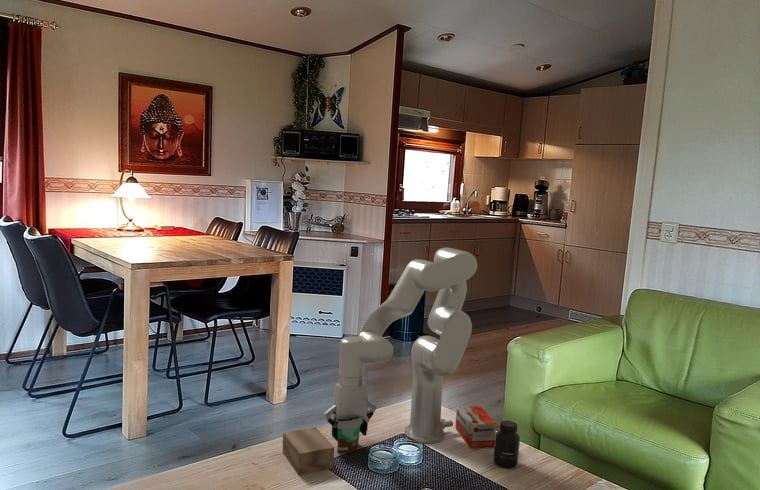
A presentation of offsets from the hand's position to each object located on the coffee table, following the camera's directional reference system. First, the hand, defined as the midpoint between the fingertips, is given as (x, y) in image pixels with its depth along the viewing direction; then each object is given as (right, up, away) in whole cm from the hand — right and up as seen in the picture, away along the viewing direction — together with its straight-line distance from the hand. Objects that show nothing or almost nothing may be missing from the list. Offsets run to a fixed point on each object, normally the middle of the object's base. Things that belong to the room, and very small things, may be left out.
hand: (349, 436), depth 169 cm
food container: (0, -4, +1) cm, 4 cm away
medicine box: (+39, -5, +11) cm, 41 cm away
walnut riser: (-11, -4, -9) cm, 15 cm away
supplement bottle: (+45, -6, -5) cm, 46 cm away
